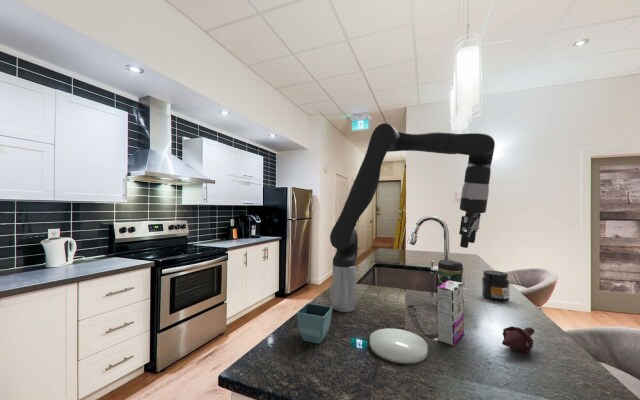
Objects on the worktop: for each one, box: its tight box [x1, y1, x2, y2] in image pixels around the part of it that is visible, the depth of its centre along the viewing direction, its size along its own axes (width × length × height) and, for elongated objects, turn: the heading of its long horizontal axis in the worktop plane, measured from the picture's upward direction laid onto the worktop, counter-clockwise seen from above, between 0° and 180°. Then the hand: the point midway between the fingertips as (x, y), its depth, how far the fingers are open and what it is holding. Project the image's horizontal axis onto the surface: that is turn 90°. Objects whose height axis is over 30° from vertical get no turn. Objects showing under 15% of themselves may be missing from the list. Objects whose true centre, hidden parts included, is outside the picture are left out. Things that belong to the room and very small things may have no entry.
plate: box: [369, 328, 429, 364], centre depth 76 cm, size 16×16×2 cm
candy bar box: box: [436, 281, 465, 346], centre depth 83 cm, size 11×5×16 cm, turn 137°
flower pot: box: [296, 303, 333, 345], centre depth 80 cm, size 9×9×9 cm
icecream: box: [501, 325, 535, 355], centre depth 75 cm, size 7×7×15 cm
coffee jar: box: [437, 259, 465, 306], centre depth 112 cm, size 10×8×19 cm
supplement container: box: [481, 269, 511, 303], centre depth 120 cm, size 10×10×12 cm
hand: (467, 244), depth 88 cm, fingers open, 8 cm apart
